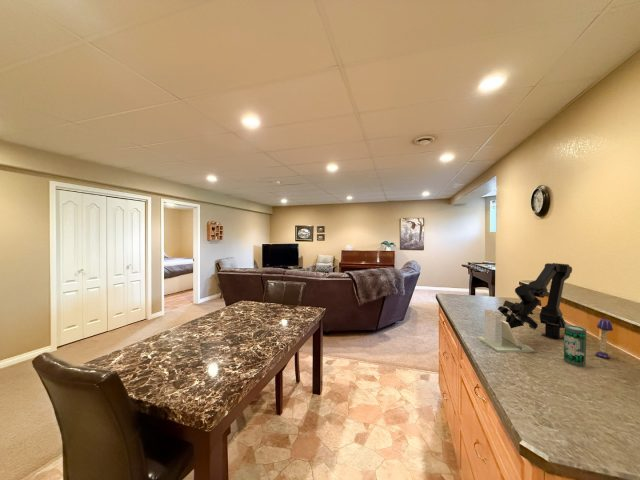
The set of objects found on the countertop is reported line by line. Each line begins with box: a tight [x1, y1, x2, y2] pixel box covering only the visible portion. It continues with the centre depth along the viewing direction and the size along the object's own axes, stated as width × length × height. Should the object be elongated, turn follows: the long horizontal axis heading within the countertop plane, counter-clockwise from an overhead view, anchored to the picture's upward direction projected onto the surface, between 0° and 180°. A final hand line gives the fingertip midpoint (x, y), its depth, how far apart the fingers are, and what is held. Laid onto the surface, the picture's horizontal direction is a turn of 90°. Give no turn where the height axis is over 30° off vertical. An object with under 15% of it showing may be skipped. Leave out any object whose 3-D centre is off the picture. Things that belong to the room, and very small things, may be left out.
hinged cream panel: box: [502, 319, 520, 347], centre depth 122 cm, size 1×13×14 cm, turn 179°
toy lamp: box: [595, 318, 614, 360], centre depth 109 cm, size 5×5×17 cm
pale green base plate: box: [476, 335, 535, 353], centre depth 122 cm, size 17×15×2 cm
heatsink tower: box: [483, 309, 504, 347], centre depth 122 cm, size 5×8×15 cm, turn 0°
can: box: [563, 324, 587, 368], centre depth 105 cm, size 6×6×15 cm
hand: (504, 329), depth 122 cm, fingers closed, pressing on hinged cream panel
